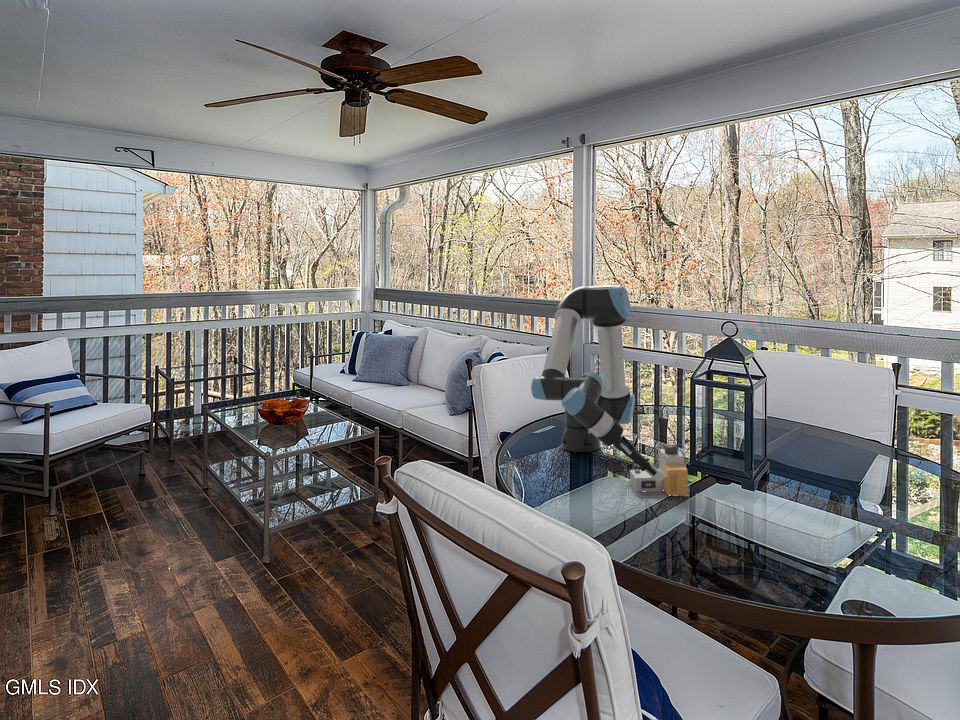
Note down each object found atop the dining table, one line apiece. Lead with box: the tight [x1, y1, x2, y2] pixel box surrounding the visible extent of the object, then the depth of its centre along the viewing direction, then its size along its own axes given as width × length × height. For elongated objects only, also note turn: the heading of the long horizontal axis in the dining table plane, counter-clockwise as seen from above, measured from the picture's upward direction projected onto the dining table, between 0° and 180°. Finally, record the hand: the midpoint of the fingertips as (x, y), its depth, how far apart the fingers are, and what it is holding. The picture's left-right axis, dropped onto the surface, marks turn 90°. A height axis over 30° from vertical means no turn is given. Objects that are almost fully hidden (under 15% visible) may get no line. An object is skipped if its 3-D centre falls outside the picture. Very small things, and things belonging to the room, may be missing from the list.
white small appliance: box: [629, 444, 684, 499], centre depth 178 cm, size 15×12×13 cm
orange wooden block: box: [663, 464, 689, 496], centre depth 174 cm, size 6×5×8 cm
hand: (661, 479), depth 174 cm, fingers closed
